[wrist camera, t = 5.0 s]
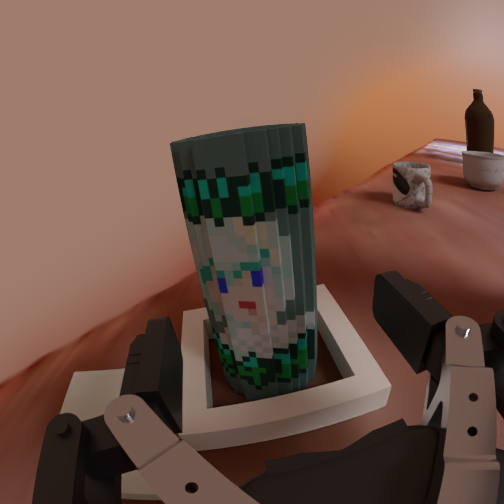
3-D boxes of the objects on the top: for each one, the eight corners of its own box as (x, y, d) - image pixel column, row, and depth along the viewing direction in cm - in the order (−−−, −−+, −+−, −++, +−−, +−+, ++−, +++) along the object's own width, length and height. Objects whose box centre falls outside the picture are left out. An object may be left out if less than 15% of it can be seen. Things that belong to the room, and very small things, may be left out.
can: (215, 395, 18) (147, 149, 12) (241, 335, 23) (203, 134, 17) (310, 405, 16) (295, 127, 10) (319, 339, 21) (307, 121, 15)
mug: (387, 198, 49) (386, 161, 47) (418, 196, 49) (419, 161, 46) (410, 217, 40) (412, 173, 38) (445, 214, 40) (448, 173, 37)
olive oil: (496, 166, 71) (495, 93, 60) (490, 170, 66) (487, 89, 56) (470, 161, 79) (467, 90, 69) (461, 163, 75) (458, 86, 64)
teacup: (479, 194, 47) (481, 156, 44) (452, 181, 57) (453, 147, 53) (518, 193, 46) (521, 159, 43) (491, 181, 56) (492, 150, 52)
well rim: (323, 303, 25) (323, 283, 25) (385, 406, 15) (391, 385, 14) (189, 330, 24) (183, 311, 24) (189, 451, 14) (178, 435, 13)
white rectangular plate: (172, 373, 20) (168, 363, 20) (169, 500, 11) (162, 494, 11) (80, 380, 19) (74, 371, 19) (51, 488, 10) (41, 480, 10)
